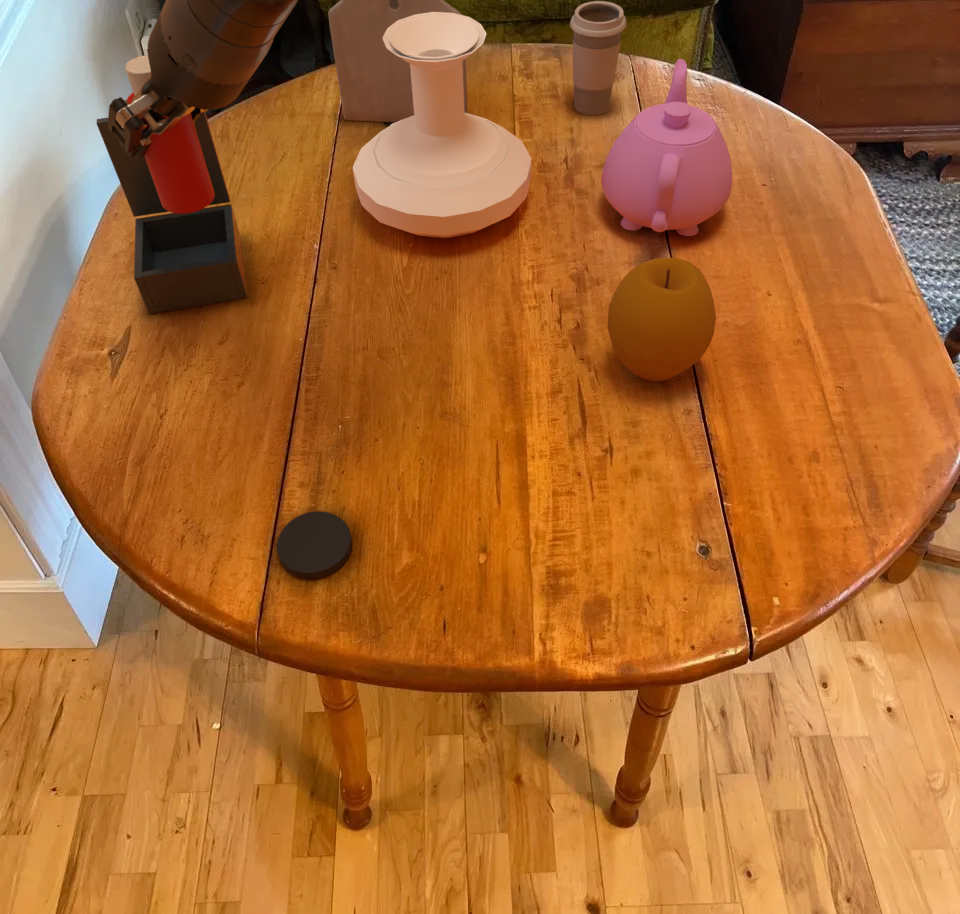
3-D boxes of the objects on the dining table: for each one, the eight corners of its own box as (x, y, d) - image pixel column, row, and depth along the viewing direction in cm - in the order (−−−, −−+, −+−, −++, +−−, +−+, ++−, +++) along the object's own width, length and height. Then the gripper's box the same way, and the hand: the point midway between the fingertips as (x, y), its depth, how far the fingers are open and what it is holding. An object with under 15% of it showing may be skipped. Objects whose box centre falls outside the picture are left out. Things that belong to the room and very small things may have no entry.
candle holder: (355, 261, 95) (327, 92, 80) (361, 159, 107) (338, -4, 92) (538, 252, 95) (545, 82, 80) (523, 151, 108) (526, -13, 93)
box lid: (203, 108, 85) (202, 104, 85) (96, 123, 83) (96, 118, 84) (230, 202, 93) (230, 197, 94) (133, 217, 92) (133, 212, 92)
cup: (597, 125, 111) (605, 30, 102) (554, 109, 114) (559, 15, 104) (628, 102, 114) (638, 8, 105) (585, 87, 117) (592, -6, 108)
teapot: (609, 152, 107) (619, 51, 97) (726, 163, 105) (749, 61, 95) (589, 252, 95) (599, 149, 85) (722, 267, 93) (747, 162, 83)
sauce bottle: (159, 216, 81) (110, 81, 71) (163, 186, 84) (116, 52, 74) (214, 210, 82) (173, 74, 72) (215, 180, 85) (176, 46, 75)
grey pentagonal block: (475, 94, 116) (471, -64, 101) (467, 126, 112) (461, -35, 96) (356, 89, 118) (334, -68, 103) (343, 120, 113) (318, -40, 98)
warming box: (247, 298, 91) (236, 261, 88) (149, 314, 90) (133, 277, 86) (241, 240, 98) (231, 203, 94) (149, 255, 96) (135, 218, 93)
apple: (630, 318, 88) (645, 220, 79) (720, 353, 85) (746, 255, 76) (584, 377, 83) (593, 280, 74) (677, 417, 80) (699, 320, 70)
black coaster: (282, 586, 69) (280, 580, 68) (276, 526, 73) (273, 519, 72) (357, 570, 70) (355, 564, 69) (347, 511, 74) (345, 504, 73)
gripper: (248, -45, 68) (186, 66, 82) (100, 26, 61) (60, 135, 74) (310, 41, 70) (240, 135, 84) (175, 119, 63) (122, 208, 76)
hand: (155, 135), depth 79 cm, fingers closed on sauce bottle, 5 cm apart
